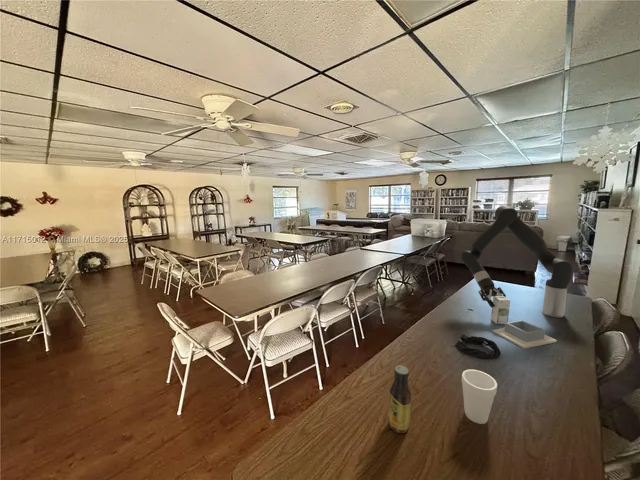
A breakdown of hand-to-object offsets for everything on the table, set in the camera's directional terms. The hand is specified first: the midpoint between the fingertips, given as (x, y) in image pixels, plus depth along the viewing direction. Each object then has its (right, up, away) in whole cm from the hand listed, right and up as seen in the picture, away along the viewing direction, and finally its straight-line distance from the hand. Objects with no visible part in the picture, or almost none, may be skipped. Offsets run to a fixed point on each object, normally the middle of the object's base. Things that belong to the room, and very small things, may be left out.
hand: (499, 306), depth 142 cm
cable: (-27, -14, -24) cm, 39 cm away
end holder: (+2, -12, -14) cm, 18 cm away
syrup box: (0, -9, +1) cm, 10 cm away
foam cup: (-49, -20, -59) cm, 80 cm away
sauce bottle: (-75, -21, -63) cm, 100 cm away
